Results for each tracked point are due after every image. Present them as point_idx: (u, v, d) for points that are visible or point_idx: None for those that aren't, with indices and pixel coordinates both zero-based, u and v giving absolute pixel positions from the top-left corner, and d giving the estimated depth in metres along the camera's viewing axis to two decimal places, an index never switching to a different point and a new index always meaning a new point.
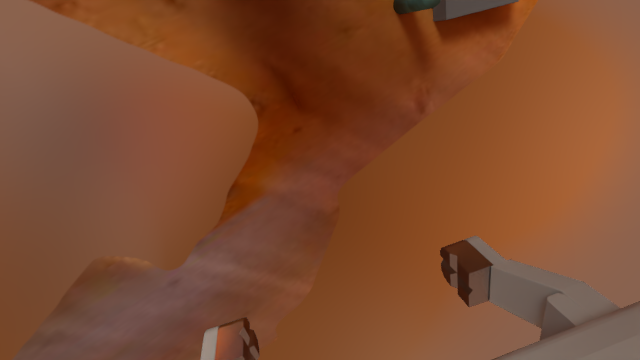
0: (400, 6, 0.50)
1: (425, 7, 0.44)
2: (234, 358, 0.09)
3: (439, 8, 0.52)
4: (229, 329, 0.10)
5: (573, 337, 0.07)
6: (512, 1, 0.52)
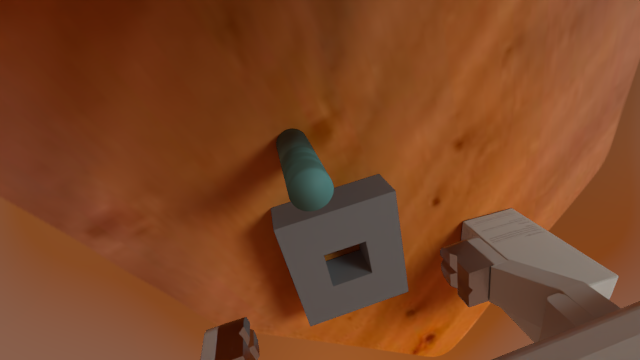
0: (287, 138, 0.25)
1: (289, 181, 0.19)
2: (234, 358, 0.09)
3: (291, 212, 0.29)
4: (229, 329, 0.10)
5: (573, 337, 0.07)
6: (309, 318, 0.33)
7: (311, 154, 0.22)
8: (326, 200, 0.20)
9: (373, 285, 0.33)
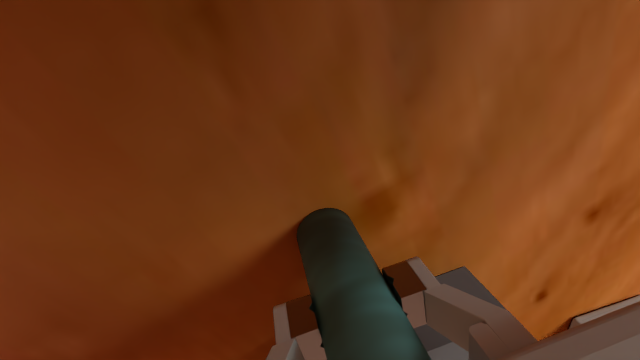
0: (323, 241, 0.13)
1: None
2: (310, 330, 0.10)
3: None
4: (297, 305, 0.11)
5: (573, 337, 0.07)
6: None
7: (396, 320, 0.09)
8: None
9: None
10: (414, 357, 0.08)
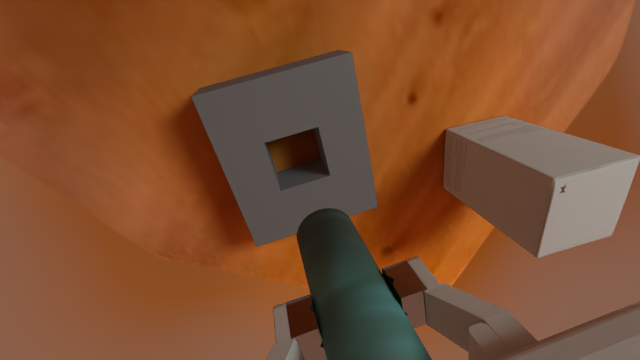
0: (324, 241, 0.13)
1: None
2: (310, 330, 0.10)
3: (220, 85, 0.23)
4: (298, 305, 0.11)
5: (573, 337, 0.07)
6: (254, 235, 0.27)
7: (397, 320, 0.09)
8: None
9: (332, 193, 0.27)
10: (414, 358, 0.08)
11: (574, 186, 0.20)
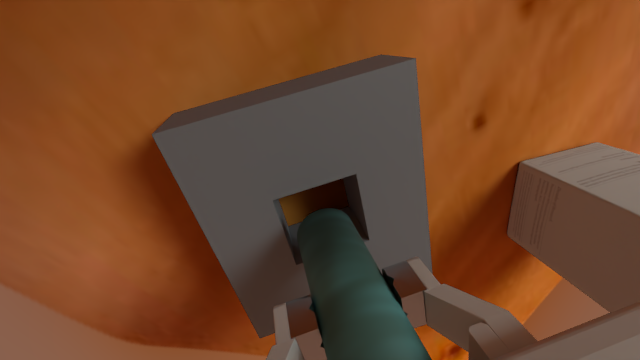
0: (324, 241, 0.13)
1: None
2: (310, 330, 0.10)
3: (203, 111, 0.14)
4: (298, 305, 0.11)
5: (573, 337, 0.07)
6: (256, 325, 0.18)
7: (397, 320, 0.09)
8: None
9: None
10: (414, 358, 0.08)
11: None
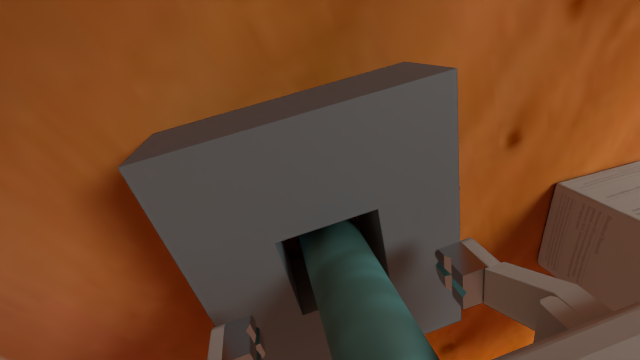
0: None
1: None
2: (241, 355, 0.09)
3: (188, 133, 0.11)
4: (236, 327, 0.10)
5: (573, 337, 0.07)
6: None
7: (381, 282, 0.10)
8: None
9: None
10: (395, 309, 0.09)
11: None
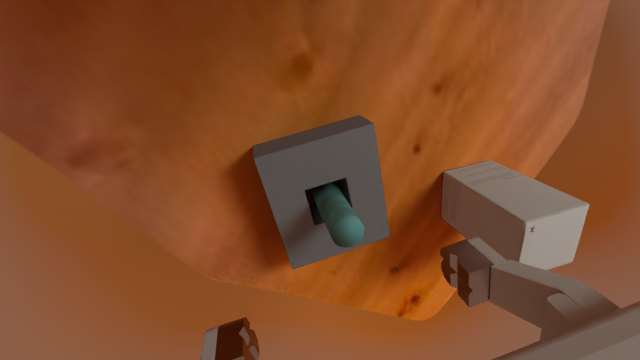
0: None
1: (331, 225, 0.26)
2: (234, 358, 0.09)
3: (271, 146, 0.29)
4: (229, 329, 0.10)
5: (573, 337, 0.07)
6: (291, 261, 0.33)
7: (344, 201, 0.28)
8: (358, 239, 0.26)
9: None
10: (347, 207, 0.27)
11: (540, 227, 0.27)
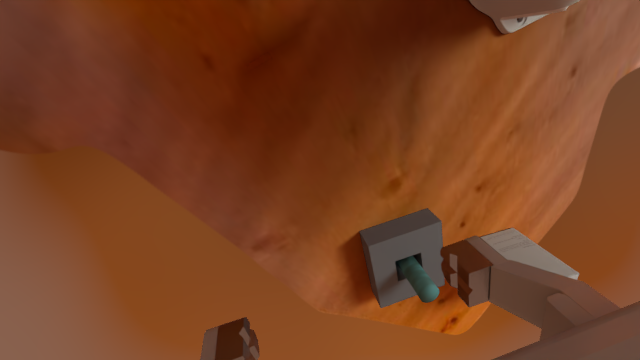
0: None
1: (419, 290, 0.43)
2: (234, 358, 0.09)
3: (375, 234, 0.46)
4: (229, 329, 0.10)
5: (573, 337, 0.07)
6: (381, 303, 0.50)
7: (423, 271, 0.45)
8: (435, 297, 0.43)
9: None
10: (427, 276, 0.44)
11: None
